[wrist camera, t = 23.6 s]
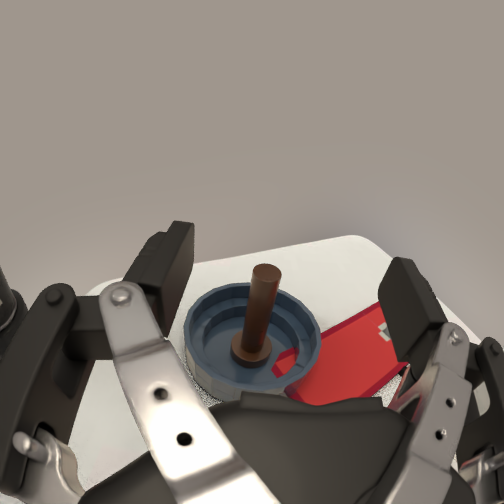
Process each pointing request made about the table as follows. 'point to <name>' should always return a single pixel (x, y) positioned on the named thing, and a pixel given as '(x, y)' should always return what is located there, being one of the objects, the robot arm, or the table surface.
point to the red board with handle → (348, 360)
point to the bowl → (232, 321)
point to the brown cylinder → (257, 318)
